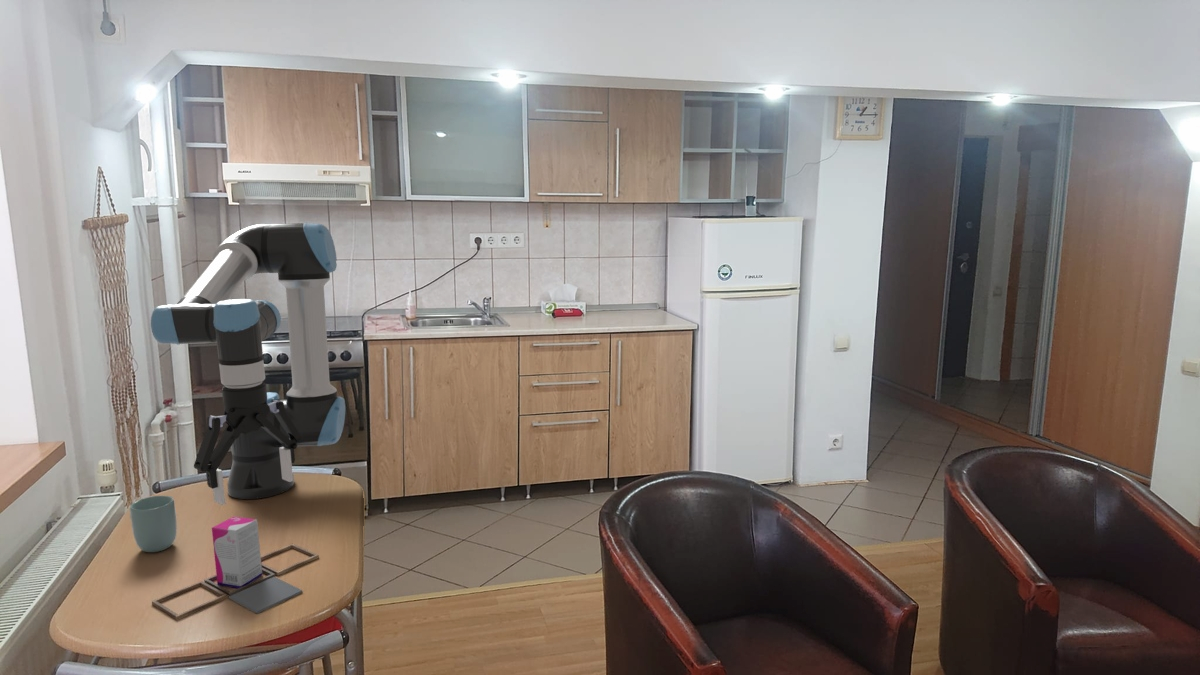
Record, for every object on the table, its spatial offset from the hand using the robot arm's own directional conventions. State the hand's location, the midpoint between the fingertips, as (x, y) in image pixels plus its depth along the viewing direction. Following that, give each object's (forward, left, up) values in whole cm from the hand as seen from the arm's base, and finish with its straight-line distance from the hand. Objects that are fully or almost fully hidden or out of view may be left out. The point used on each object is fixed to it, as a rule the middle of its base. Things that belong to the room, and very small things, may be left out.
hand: (255, 491), depth 150 cm
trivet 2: (-5, 0, -16) cm, 17 cm away
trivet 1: (+14, 0, -16) cm, 22 cm away
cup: (+7, -27, -16) cm, 32 cm away
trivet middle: (+5, 0, -16) cm, 17 cm away
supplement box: (+5, 0, -16) cm, 17 cm away
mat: (+5, +10, -16) cm, 20 cm away
